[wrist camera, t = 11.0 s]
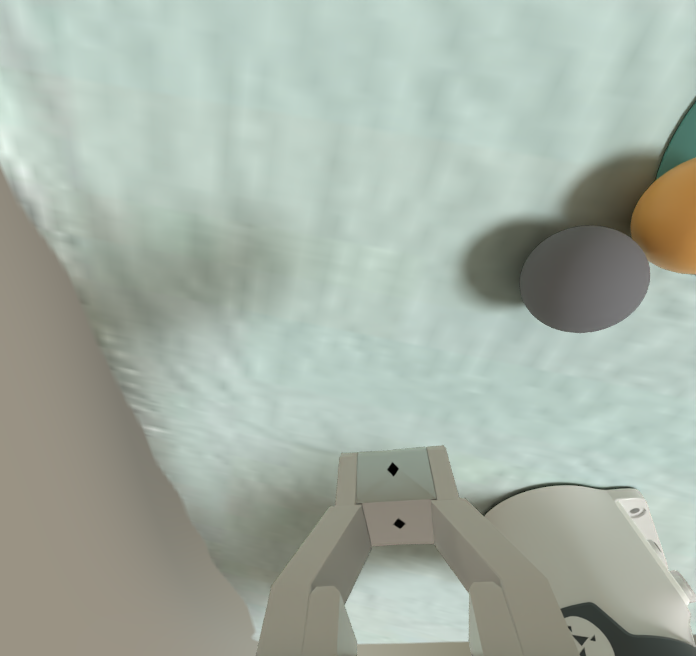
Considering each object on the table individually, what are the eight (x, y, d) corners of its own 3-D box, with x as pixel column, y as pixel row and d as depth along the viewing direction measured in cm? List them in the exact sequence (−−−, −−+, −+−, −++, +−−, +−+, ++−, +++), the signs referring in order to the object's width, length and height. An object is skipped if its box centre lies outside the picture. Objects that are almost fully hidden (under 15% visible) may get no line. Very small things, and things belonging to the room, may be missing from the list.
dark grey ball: (513, 323, 17) (488, 272, 22) (595, 370, 19) (554, 312, 23) (619, 227, 14) (562, 191, 19) (711, 292, 15) (635, 243, 20)
